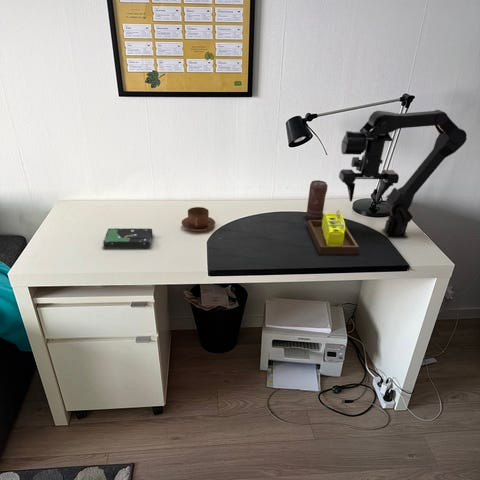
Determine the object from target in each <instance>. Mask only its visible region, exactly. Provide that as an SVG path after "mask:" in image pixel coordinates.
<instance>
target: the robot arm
mask: <svg viewBox="0 0 480 480" xmlns="http://www.w3.org/2000/svg"><path fill="white" fill-rule="evenodd" d="M431 126H432V127H434V128H435V130H436V131H437V133H438V136H437V138H435V142H434V145H433V147H432V150H431V151H430V152H429V154H428V155H427V156H426V157H425V158H424V160H423V161H422V162H421V164H420V165H419V166H418V167H417V168H416V170H415V171H414V172H413V173H412V175H411V176H410V177H409V178H408V179H407V181H406V182H405V183H404V184H403V186H401V187H399V188H398V189H397V187H393V188H392V190H391V192H390V193H389V194H388V195H386V200H385V208H386V209H387V210H388V214H390V215H388V218H387V219H386V220H385V225H384V227H383V231H384V232H385V234H387V236H388V237H389V238H407V237H408V236H407V227H408V225H409V223H410V222H411V221H412V220H413V217H414V216H413V215H412V214H411V212H410V211H409V209H410V207H411V206H412V204H413V201H414V197H415V195H416V194H417V192H418V191H419V190H420V189H421V188H422V186H423V185H424V184H425V183H426V182H427V181H428V180H429V178H430V177H431V176H432V174H433V173H434V172H435V171H436V170H437V169H438V167H440V165H441V163H443V161H444V160H445V159H446V158H448V157H449V156H451V155H453V154H455V153H456V152H457V151H458V150H460V149H461V147H463V146H464V145H465V143H466V141H467V136H468V135H467V132H466V131H465V130H464V129H462V128H460V127H458V125H457V124H456V123H454V121H453V120H452V119H451V118H450V117H449V116H448V114H447V112H445V111H443V110H440V109H434V110H427V111H415V112H414V111H413V112H403V113H399V112H398V113H397V112H391V111H386V110H385V111H384V110H376V111H373V112H372V113H371V115H369V117H368V121H367V122H366V123H365V124H364V125H362V127H361V128H360V130H359V131H351V130H346V131H345V135H344V136H343V138H342V141H341V145H340V146H341V147H340V148H341V149H340V150H341V154H342V155H362V157H361V159H360V157H359V156H353V157H352V158H351V162H350V163H351V164H350V165H351V168H355V170H356V171H358V172H355V171H354V169H347V168H346V169H344V168H343V169H340V171H339V174H338V178H339V180H340V181H341V182H342V183H344V184H345V185H346V187H347V191H348V200H349V202H351V203H352V201H353V198H354V193H355V187H356V183H355V181H356V180H379V186H378V189H377V193H376V195H375V196H376V197H375V202H376V203H378V202H379V201H380V199H381V198H382V197H383V195H384V194H385V193H386V192H387V191H388V190H389V189H390V187H392V186H394V184H399V179H400V176H399V174H398V173H397V172H396V171H395V170H394V169H383V170H382V171H381V172H380V168H381V164H383V161H384V160H383V155H384V149H385V145H386V142H393V138H392V137H391V135H390V133H393V132H395V131H398V130H400V129H409V128H419V127H420V128H422V127H431Z"/></svg>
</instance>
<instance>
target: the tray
mask: <svg viewBox="0 0 480 480" xmlns="http://www.w3.org/2000/svg"><path fill="white" fill-rule="evenodd" d="M343 227H344V226H343ZM306 228H307V230H308V232H309V234H310V238H311V239H312V241H313V243H314V245H315V248H316V249H317V252H318V255H320V256H321V255H323V256H325V255H334V256H335V255H341V256H342V255H345V256H346V255H347V256H348V255H349V256H350V255H352V256H353V255H358V252H359V248H360V247H359V245H358V243H357V242H356V240H355V239H354V237H353V236H352V234H351V232H350V231H349V229H348V228H347V226H346V225H345V234H344V240H343V244H342V246H327V244H326V240H325V239H324V235H323V234H324V233H323V229H322V219H321V220H307V225H306Z"/></svg>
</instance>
